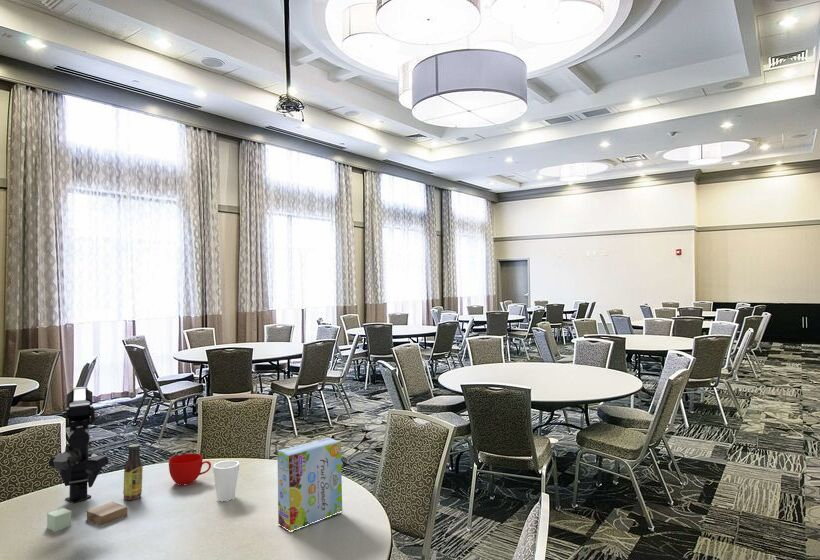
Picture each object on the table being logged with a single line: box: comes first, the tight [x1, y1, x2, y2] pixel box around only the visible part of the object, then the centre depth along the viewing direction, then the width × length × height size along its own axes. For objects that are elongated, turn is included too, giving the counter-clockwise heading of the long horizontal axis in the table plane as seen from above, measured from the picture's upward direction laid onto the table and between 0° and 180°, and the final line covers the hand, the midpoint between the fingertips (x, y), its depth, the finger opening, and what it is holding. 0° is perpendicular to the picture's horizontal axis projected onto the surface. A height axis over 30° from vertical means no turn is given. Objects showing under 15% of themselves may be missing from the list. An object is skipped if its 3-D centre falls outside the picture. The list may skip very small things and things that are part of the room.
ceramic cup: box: [168, 453, 212, 486], centre depth 212 cm, size 13×17×10 cm
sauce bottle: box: [122, 443, 144, 501], centre depth 197 cm, size 7×6×20 cm
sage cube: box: [46, 507, 72, 533], centre depth 172 cm, size 5×5×5 cm
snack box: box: [277, 437, 343, 531], centre depth 178 cm, size 22×9×26 cm, turn 134°
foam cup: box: [212, 459, 240, 503], centre depth 196 cm, size 10×9×13 cm
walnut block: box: [86, 501, 128, 527], centre depth 179 cm, size 9×9×4 cm
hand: (78, 486), depth 175 cm, fingers open, 9 cm apart
